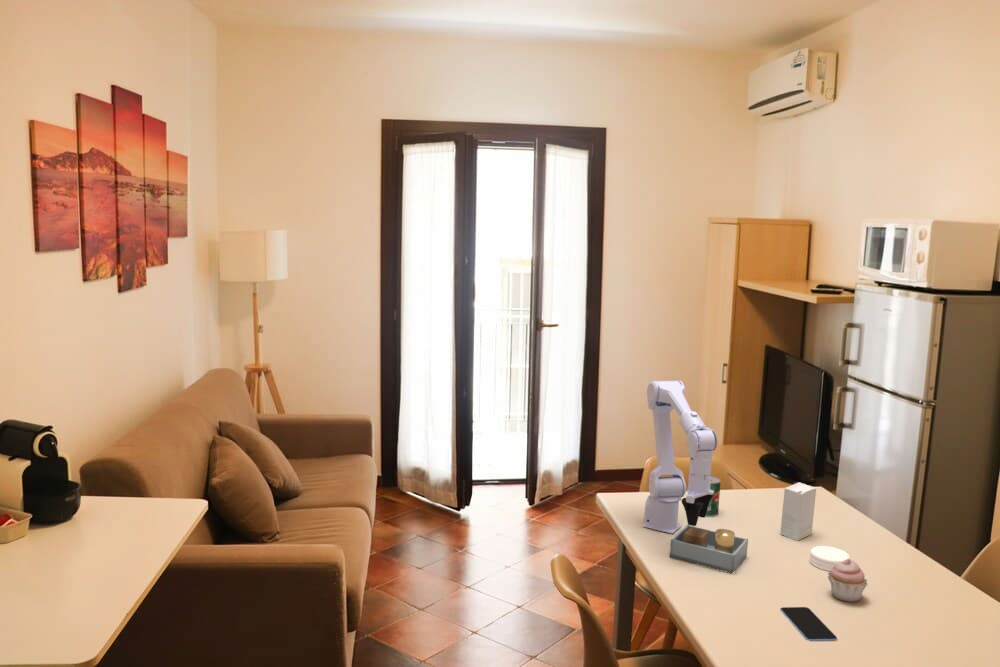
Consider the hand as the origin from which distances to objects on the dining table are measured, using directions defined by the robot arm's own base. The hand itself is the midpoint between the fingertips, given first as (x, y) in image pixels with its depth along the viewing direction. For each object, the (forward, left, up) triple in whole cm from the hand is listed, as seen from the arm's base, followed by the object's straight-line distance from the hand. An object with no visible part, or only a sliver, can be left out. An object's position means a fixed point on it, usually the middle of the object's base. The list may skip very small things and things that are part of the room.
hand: (696, 520), depth 220 cm
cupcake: (+39, -3, -10) cm, 41 cm away
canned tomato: (-8, +33, -10) cm, 35 cm away
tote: (+4, 0, -9) cm, 10 cm away
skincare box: (+20, +31, -10) cm, 39 cm away
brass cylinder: (+8, 0, -8) cm, 12 cm away
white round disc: (+32, +15, -10) cm, 37 cm away
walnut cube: (0, 0, -8) cm, 8 cm away
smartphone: (+34, -23, -10) cm, 43 cm away
